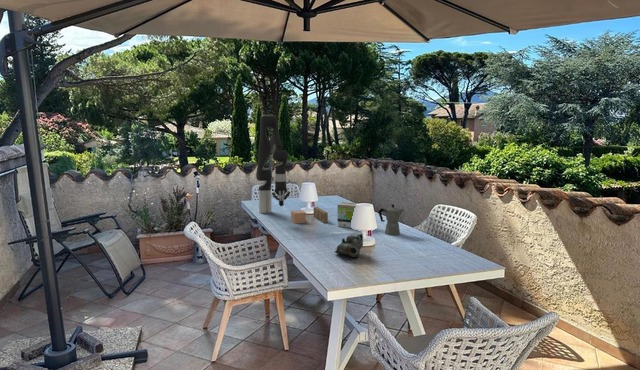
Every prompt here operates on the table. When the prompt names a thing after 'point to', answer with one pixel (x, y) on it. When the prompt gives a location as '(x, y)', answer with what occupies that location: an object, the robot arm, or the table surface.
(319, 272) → the table surface
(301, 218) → the terracotta block
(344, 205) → the tea box
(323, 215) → the walnut board
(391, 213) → the coffeepot
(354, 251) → the dark binoculars
